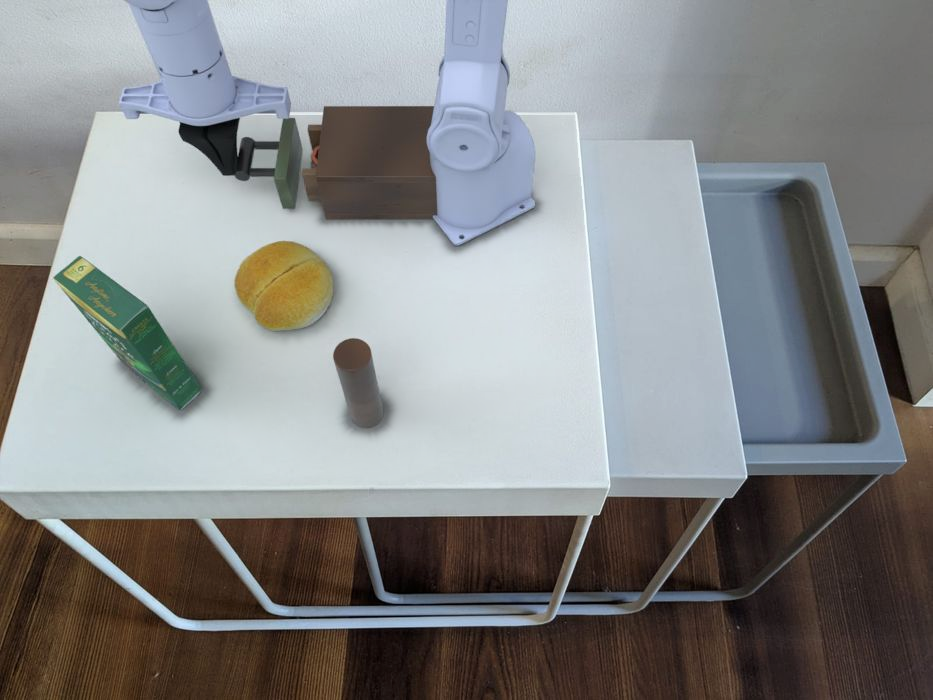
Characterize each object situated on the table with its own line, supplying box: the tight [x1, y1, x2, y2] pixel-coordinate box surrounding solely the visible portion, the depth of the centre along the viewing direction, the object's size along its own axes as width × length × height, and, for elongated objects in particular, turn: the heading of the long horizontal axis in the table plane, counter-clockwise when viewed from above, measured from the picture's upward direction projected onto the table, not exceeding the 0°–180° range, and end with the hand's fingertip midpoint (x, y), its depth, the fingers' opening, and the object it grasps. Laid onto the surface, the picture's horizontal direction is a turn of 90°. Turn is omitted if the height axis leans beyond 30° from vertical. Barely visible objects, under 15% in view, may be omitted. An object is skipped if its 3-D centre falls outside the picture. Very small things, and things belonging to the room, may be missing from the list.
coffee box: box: [52, 255, 203, 411], centre depth 61 cm, size 8×3×13 cm, turn 52°
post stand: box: [332, 337, 384, 429], centre depth 61 cm, size 3×3×10 cm
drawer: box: [234, 117, 322, 210], centre depth 75 cm, size 15×8×4 cm, turn 91°
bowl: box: [310, 146, 319, 168], centre depth 75 cm, size 3×3×2 cm
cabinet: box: [316, 105, 437, 220], centre depth 75 cm, size 12×9×6 cm
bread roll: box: [234, 240, 335, 332], centre depth 70 cm, size 8×9×4 cm
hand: (230, 168), depth 76 cm, fingers closed
